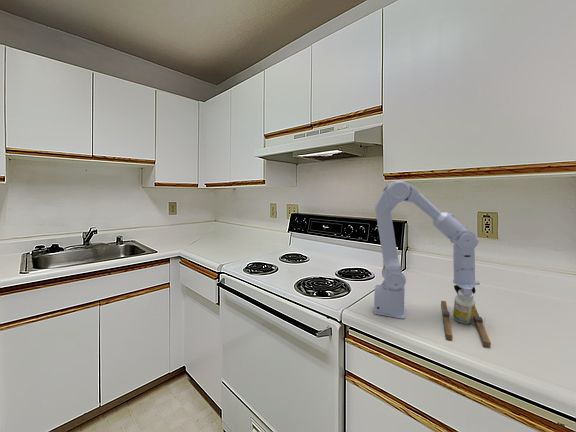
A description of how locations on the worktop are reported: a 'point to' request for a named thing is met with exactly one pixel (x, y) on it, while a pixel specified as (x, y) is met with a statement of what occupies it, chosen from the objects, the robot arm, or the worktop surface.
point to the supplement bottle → (464, 307)
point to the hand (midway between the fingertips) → (464, 308)
